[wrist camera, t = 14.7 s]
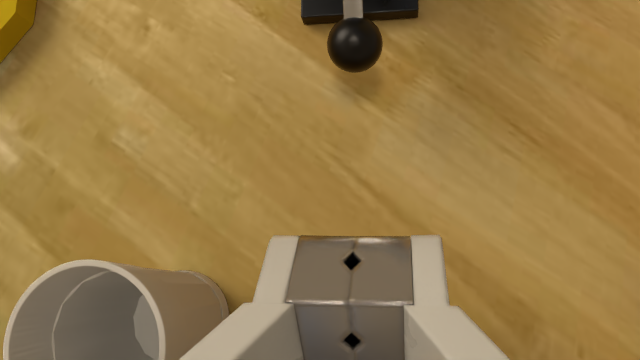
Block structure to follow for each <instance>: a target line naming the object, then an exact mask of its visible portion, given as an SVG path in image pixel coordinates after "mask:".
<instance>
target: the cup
mask: <svg viewBox="0 0 640 360" xmlns="http://www.w3.org/2000/svg"><path fill="white" fill-rule="evenodd" d="M228 316H229V310H228V305H227V302H226V299H225V297H224V295H223V293H222V291H221V289H220V288H219V287H218V286H217V284H216V283H215V282H213V281H212V280H211V279H210V278H208V277H207V276H205V275H203V274H201V273H198V272H194V271H167V270H159V269H150V268H141V267H137V266H133V265H127V264H120V263H114V262H107V261H100V260H77V261H72V262H68V263H65V264H62V265H59V266H57V267H55V268H53V269H51V270H49V271H47V272H46V273H44V274H43V275H42V276H40V277H39V278H38V279H37V280H35V281H34V282H33V283H32V284H31V285H30V286H29V287H28V288H27V290H26V291H25V292H24V293H23V295H22V296H21V297H20V299H19V301H18V302H17V304H16V306H15V308H14V309H13V312H12V314H11V316H10V319H9V322H8V325H7V328H6V332H5V337H4V345H3V360H179V359H180V358H181V357H182V356H183V355H185V354H186V353H187V352H188V351H189V350H190V349H191V348H193V347H194V346H195V345H196V344H197V343H198V342H200V341H201V340H202V339H203V338H204V337H205V336H206V335H208V334H209V333H210V332H211V331H212V330H213V329H214V328H216V327H217V326H218V325H219V324H220V323H221V322H222V321H224V320H225V319H226V318H227V317H228Z"/></svg>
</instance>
